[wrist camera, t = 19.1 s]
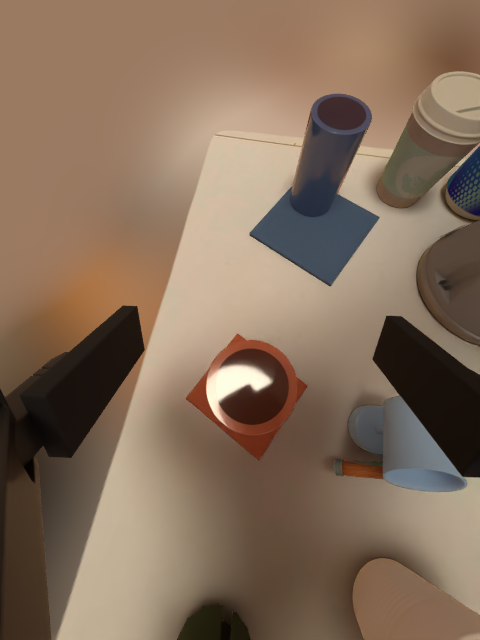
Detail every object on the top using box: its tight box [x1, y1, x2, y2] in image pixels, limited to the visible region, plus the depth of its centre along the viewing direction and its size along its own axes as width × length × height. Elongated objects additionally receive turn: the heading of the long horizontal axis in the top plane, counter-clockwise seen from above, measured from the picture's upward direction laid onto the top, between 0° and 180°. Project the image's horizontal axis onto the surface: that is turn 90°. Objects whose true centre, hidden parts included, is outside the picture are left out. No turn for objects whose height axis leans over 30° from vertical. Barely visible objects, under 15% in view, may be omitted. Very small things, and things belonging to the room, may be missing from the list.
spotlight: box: [348, 396, 467, 492], centre depth 21 cm, size 5×10×7 cm
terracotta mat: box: [186, 334, 307, 460], centre depth 27 cm, size 10×9×1 cm
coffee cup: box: [377, 72, 480, 208], centre depth 30 cm, size 8×8×12 cm
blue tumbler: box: [290, 94, 372, 217], centre depth 30 cm, size 6×6×11 cm
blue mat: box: [250, 187, 379, 286], centre depth 34 cm, size 13×13×1 cm
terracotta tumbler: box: [206, 340, 298, 435], centre depth 21 cm, size 6×6×11 cm
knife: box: [334, 459, 384, 479], centre depth 22 cm, size 20×2×5 cm, turn 91°
